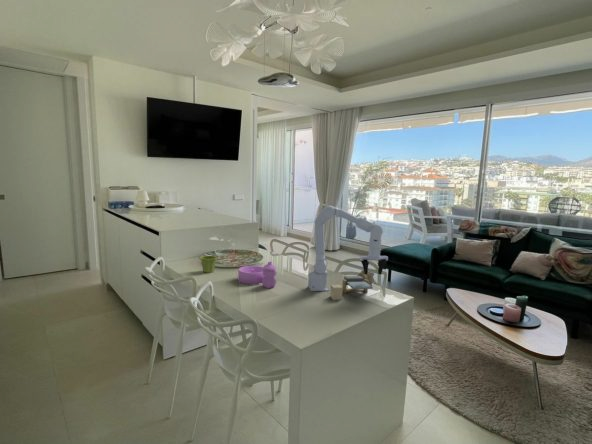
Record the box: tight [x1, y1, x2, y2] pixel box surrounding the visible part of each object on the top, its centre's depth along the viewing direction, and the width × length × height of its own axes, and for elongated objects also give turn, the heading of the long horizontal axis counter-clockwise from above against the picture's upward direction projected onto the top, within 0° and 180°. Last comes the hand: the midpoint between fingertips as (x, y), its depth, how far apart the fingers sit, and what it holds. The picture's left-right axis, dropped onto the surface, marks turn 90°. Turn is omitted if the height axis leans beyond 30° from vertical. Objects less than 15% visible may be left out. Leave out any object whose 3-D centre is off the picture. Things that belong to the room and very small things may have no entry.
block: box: [329, 284, 343, 301], centre depth 158 cm, size 4×4×6 cm
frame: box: [341, 279, 369, 294], centre depth 168 cm, size 13×5×7 cm, turn 101°
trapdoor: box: [343, 275, 373, 290], centre depth 164 cm, size 10×14×4 cm
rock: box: [357, 269, 375, 287], centre depth 179 cm, size 12×7×10 cm, turn 123°
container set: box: [237, 261, 277, 289], centre depth 176 cm, size 25×15×13 cm, turn 48°
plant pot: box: [199, 255, 218, 274], centre depth 192 cm, size 9×9×9 cm
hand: (372, 274), depth 165 cm, fingers open, 7 cm apart
